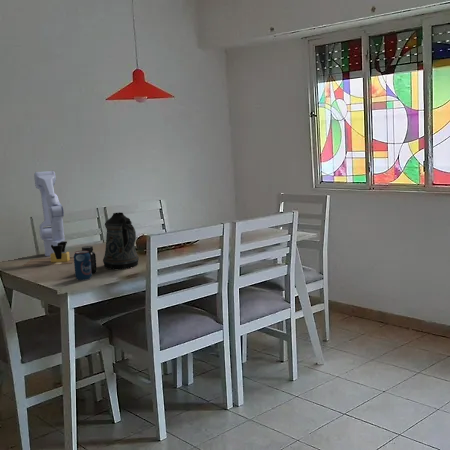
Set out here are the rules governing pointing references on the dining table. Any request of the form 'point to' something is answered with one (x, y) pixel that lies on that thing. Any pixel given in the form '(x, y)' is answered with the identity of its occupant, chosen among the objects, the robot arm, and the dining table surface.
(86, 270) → the soda can
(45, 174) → the robot arm
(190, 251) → the dining table surface
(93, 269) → the supplement bottle
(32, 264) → the board
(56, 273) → the dining table surface
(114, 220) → the beer stein
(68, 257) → the block
